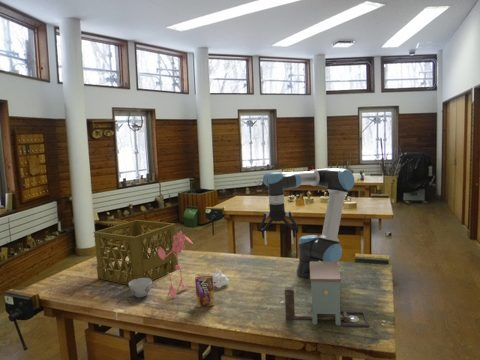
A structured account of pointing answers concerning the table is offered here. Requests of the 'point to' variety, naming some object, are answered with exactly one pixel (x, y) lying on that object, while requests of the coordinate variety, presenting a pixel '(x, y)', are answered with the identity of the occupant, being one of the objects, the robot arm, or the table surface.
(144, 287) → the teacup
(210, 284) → the candy box
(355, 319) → the steel disc
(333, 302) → the cabinet
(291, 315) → the pusher stick
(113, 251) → the milk crate
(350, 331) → the table surface
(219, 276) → the crumpled paper ball
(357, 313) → the rubber bay
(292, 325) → the table surface
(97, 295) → the table surface
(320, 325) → the table surface
